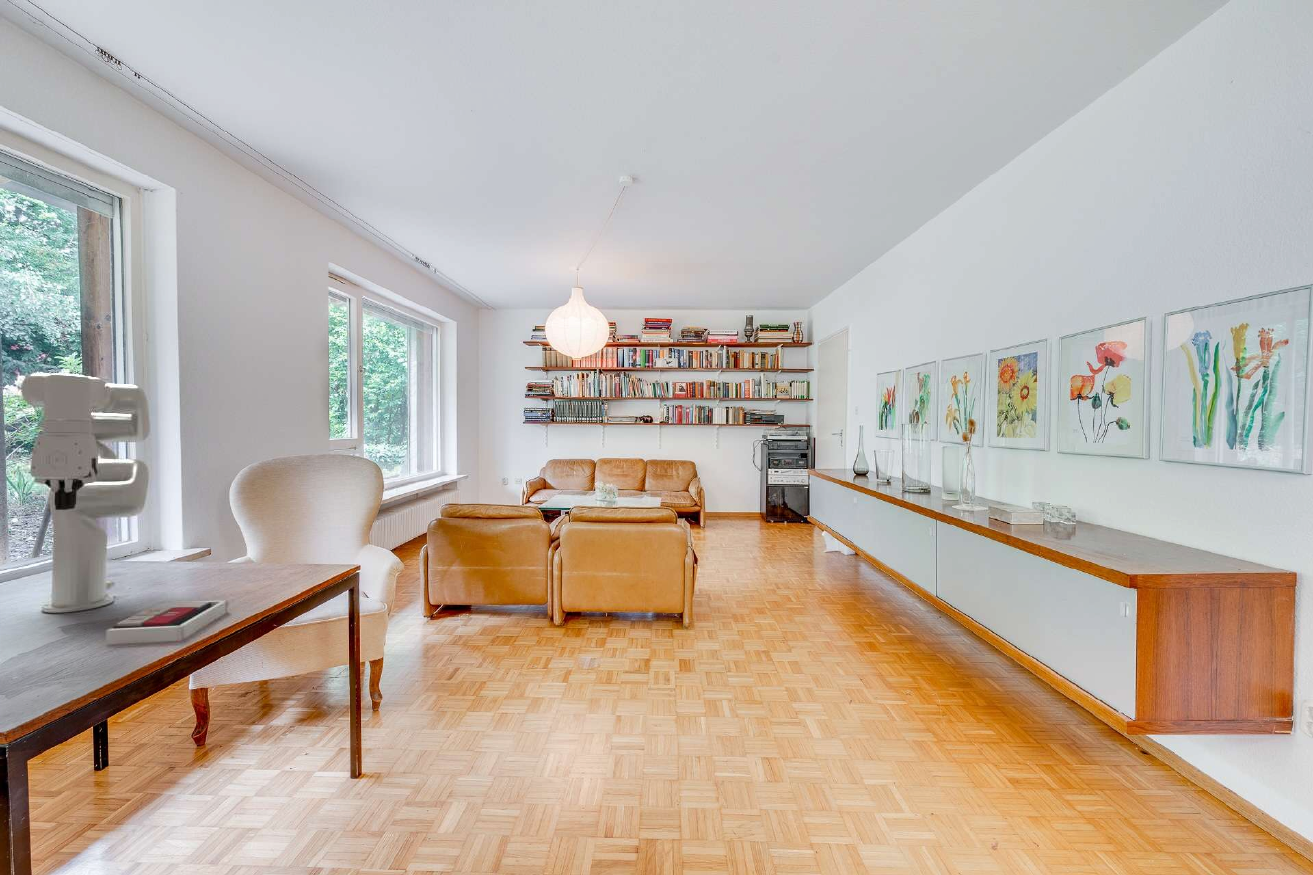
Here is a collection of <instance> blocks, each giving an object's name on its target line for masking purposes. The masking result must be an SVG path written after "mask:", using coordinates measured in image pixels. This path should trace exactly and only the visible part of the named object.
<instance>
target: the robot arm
mask: <svg viewBox="0 0 1313 875" xmlns="http://www.w3.org/2000/svg"><path fill="white" fill-rule="evenodd" d="M20 392H21V395H22V398H23V400H24V401H25V402H26V404H29V406H33V407H40V408H43V420H42V422H38V423H37V428H38V429H42V434H40V433H38V434H37V436H36V438H35V442H34V445H33V449H32V453H31V454H32V455H31V460H30V476H31V477H32V478H34V482H35V483H36V484H41V485H46V486H47V487H49V489H51V491H50V493H49V497H48V498H49V499H48V500H49V501H48V504H49V508H50V514H51V519H52V527H53V528H52V529H53V531H52V532H53V535H52V536H53V540H52V541H53V544H52V571H51V573H52V576H51V600H50V601H48V602H46V603H44V604H42V606H41V611H42V612H44V613H53V614H55V613H56V614H57V613H58V614H59V613H60V614H61V613H71V612H72V613H73V612H80V611H85V610H91V609H96V608H100V607H105V606H106V605H109V604H111V603H112V602H114V596H113V595H111V594H107V591H108V590H110V589H113V588H114V587H115V585H116V584H115V582H114V581H112V580H110V581H106V580H107V579H106V577H107V576H106V575H107V552H108V550H107V549H108V546H107V545H108V536H107V533H106V531H105V530H104V528H103V527H101V526H100V524H98V523H97V522H96V521H95V520H100V519H115V518H116V519H117V518H118V519H119V518H130V517H131V518H132V517H135V516H138V515H139V514H141V512H142V511H143V510H144V507H145V504H146V499H147V493H148V488H149V479H150V473H149V469H148V466H147V464H146V462H144V461H142V460H140V459H136V458H135V459H133V458H130V459H129V458H117V455H116V453H115V452H114V451H113V450H112V449H111V448H110V447H108V446H107V445H105V444H104V443H105V442H108V443H138V442H143V441H145V440H146V439H148V437H149V435H150V430H151V427H150V426H151V425H150V423H151V422H150V416H149V415H150V414H149V404H148V400H147V396H146V393H145V392H144V390H143V389H142V388H141V387H140V386H138V385H133V384H120V383H107V382H106V381H104V379H102V378H99V377H96V376H95V377H94V376H93V377H92V376H85V375H81V374H74V373H73V374H70V373H30V374H28V375H27V376H25V377H24V380H23V381H22V383H21V386H20ZM102 442H104V443H102Z"/></svg>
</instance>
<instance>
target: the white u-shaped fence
mask: <svg viewBox="0 0 1313 875" xmlns="http://www.w3.org/2000/svg"><path fill="white" fill-rule="evenodd" d="M193 602H208V603H211V608H209V609H207V610H206V611H204V612H202V613H200V614H199V615H197V616H195V617H193V618H192V619H190V620H188V621H186V622H184V623H183V624H181V625H179V626H161V627H140V628H118V629H113V628H109V629H107V630H105V631H106V632H105V637H106V638H105V645H123V644H146V643H161V642H162V643H163V642H166V643H167V642H180V641H183V640H185V639H186V638H188V637H190V636H192V635H193V634H195V633H196V632H197V631H200V630H201V629H202V628H204V627H206V626H208V625H209V624H211V623H212V622H214V621H215V619H216V620H217V619H218V618H220V617H222V616H224V615H225V614H227V613H228V611H229V610H228V608H229V606H228V605H229V600H228V599H226V600H225V599H224V600H203V601H202V600H199V601H198V600H197V601H193Z"/></svg>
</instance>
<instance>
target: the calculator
mask: <svg viewBox="0 0 1313 875" xmlns="http://www.w3.org/2000/svg"><path fill="white" fill-rule="evenodd" d="M209 608H211V603H208V602H194V601H176V602H175V601H168V602H166V601H165V602H162V603H160V604H157V605H155V606H153V607H149V608H147V609H145V610H142V611H140V612H137V613H136V614H135V615H132V616H130V617H127V618H126V619H123V620H121V621H119V622H117V623H116V624H115V625H114V626H112V629H118V628H140V627H161V626H179V625H181V624H183V623H184V622H186V621H188V620H190V619H192V618H193V617H195V616H197V615H199V614H200V613H202V612H204V611H206V610H207V609H209Z"/></svg>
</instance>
